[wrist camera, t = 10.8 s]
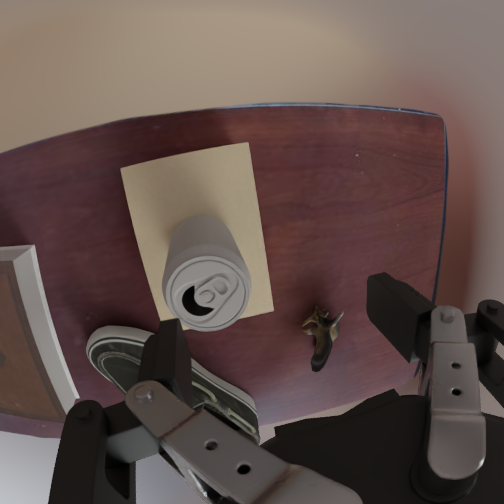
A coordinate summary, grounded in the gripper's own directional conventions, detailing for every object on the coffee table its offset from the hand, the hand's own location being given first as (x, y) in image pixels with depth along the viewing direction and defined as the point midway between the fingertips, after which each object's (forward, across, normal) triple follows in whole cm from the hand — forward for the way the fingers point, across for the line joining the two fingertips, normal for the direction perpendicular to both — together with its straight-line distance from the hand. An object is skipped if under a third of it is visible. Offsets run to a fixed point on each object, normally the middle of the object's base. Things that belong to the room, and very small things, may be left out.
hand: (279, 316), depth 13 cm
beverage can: (+20, +3, +3) cm, 21 cm away
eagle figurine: (+28, -11, +22) cm, 37 cm away
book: (+28, +41, +12) cm, 51 cm away
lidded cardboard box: (+28, +3, +3) cm, 29 cm away
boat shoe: (+28, +12, +26) cm, 40 cm away
